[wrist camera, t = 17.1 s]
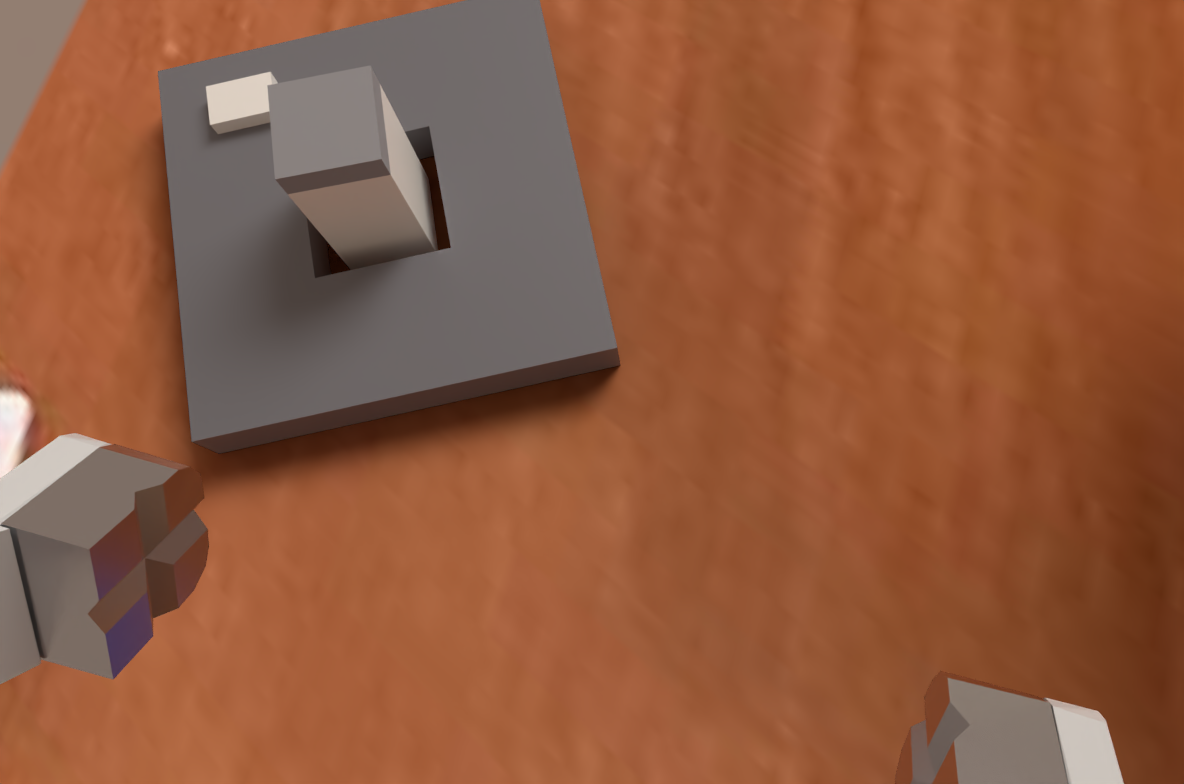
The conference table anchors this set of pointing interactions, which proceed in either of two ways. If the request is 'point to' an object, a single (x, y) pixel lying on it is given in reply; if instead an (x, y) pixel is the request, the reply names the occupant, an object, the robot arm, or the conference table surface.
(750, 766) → the conference table surface
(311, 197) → the plug
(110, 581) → the robot arm
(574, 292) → the socket plate
